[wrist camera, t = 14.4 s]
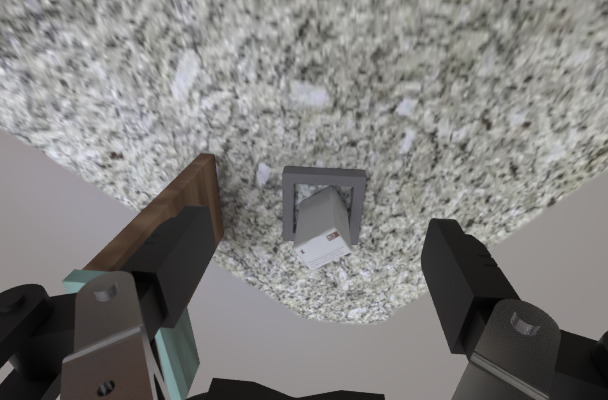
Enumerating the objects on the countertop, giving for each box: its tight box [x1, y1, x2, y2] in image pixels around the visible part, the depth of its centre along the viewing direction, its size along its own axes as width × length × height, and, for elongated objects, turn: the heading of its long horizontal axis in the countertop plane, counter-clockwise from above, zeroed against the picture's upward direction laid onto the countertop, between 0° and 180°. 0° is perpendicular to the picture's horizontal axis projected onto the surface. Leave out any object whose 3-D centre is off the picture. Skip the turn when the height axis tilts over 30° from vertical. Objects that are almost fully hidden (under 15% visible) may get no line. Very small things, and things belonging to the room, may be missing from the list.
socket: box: [283, 166, 367, 245], centre depth 46 cm, size 12×12×2 cm
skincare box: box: [293, 186, 352, 270], centre depth 41 cm, size 6×4×12 cm
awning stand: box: [62, 154, 224, 400], centre depth 36 cm, size 6×15×26 cm, turn 178°
